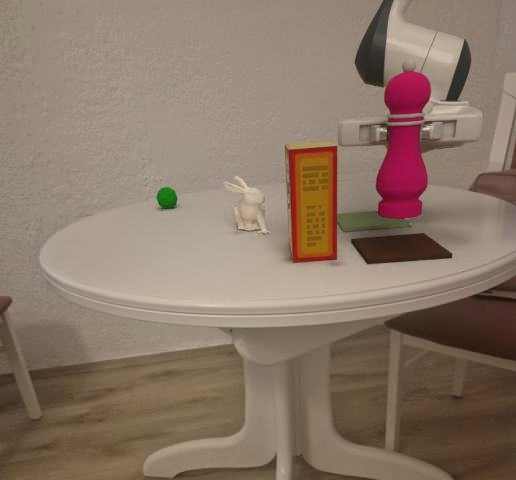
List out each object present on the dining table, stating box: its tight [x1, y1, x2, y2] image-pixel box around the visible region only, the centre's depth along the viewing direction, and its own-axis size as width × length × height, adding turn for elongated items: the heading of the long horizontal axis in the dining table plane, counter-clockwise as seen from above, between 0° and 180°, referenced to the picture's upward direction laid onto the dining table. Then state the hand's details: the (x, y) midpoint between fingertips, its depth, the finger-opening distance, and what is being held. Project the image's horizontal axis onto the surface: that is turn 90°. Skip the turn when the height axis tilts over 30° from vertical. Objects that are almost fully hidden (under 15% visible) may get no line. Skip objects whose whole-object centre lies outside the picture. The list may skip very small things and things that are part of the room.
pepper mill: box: [375, 58, 431, 220], centre depth 67 cm, size 7×7×20 cm
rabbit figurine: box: [222, 175, 270, 235], centre depth 90 cm, size 12×8×10 cm, turn 5°
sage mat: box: [337, 210, 412, 233], centre depth 90 cm, size 12×12×1 cm
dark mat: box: [350, 232, 453, 265], centre depth 73 cm, size 12×12×1 cm
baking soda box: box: [284, 140, 338, 264], centre depth 72 cm, size 10×6×16 cm
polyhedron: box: [156, 186, 179, 210], centre depth 116 cm, size 5×5×5 cm
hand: (404, 134), depth 65 cm, fingers closed on pepper mill, 5 cm apart
